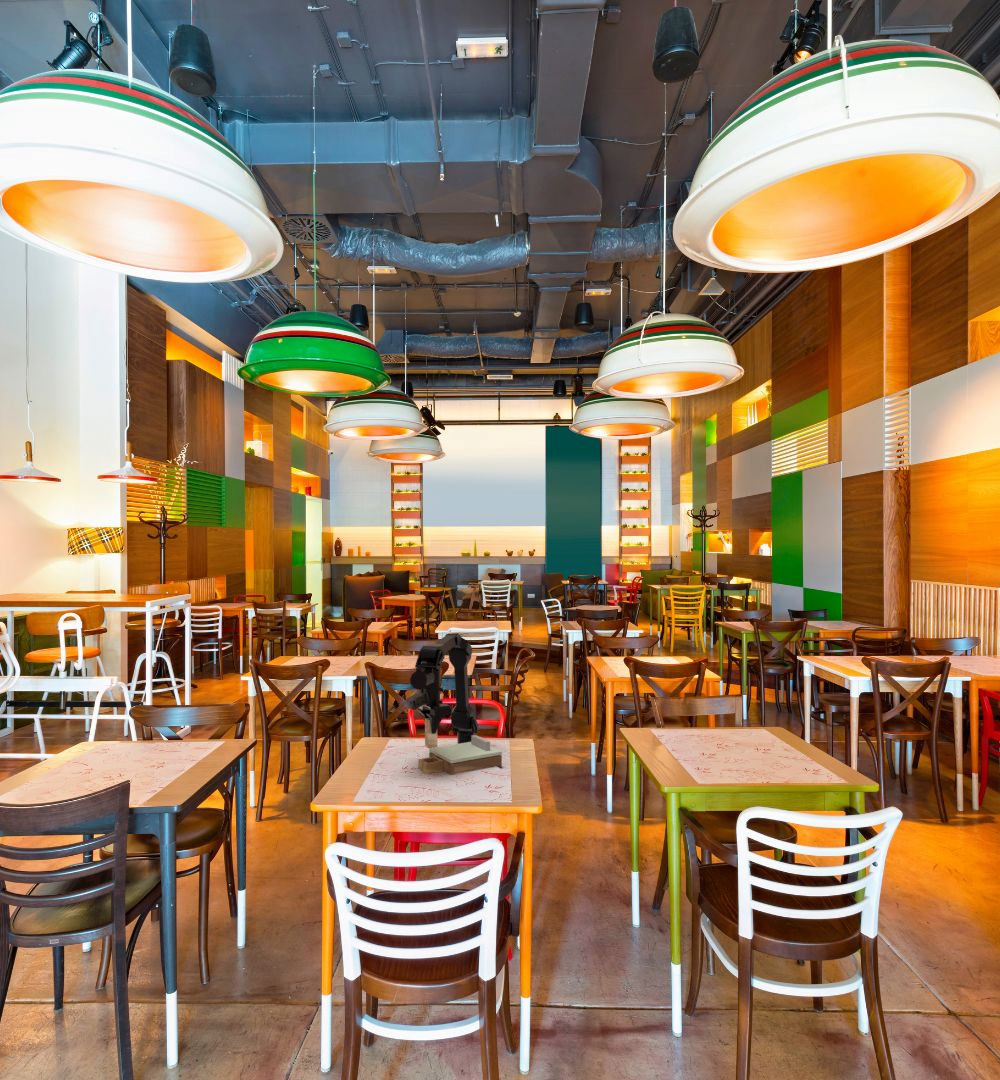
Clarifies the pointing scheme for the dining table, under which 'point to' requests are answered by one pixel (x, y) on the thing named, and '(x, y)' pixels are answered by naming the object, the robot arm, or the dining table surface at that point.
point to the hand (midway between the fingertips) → (431, 732)
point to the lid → (466, 750)
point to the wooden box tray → (457, 764)
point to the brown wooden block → (429, 735)
